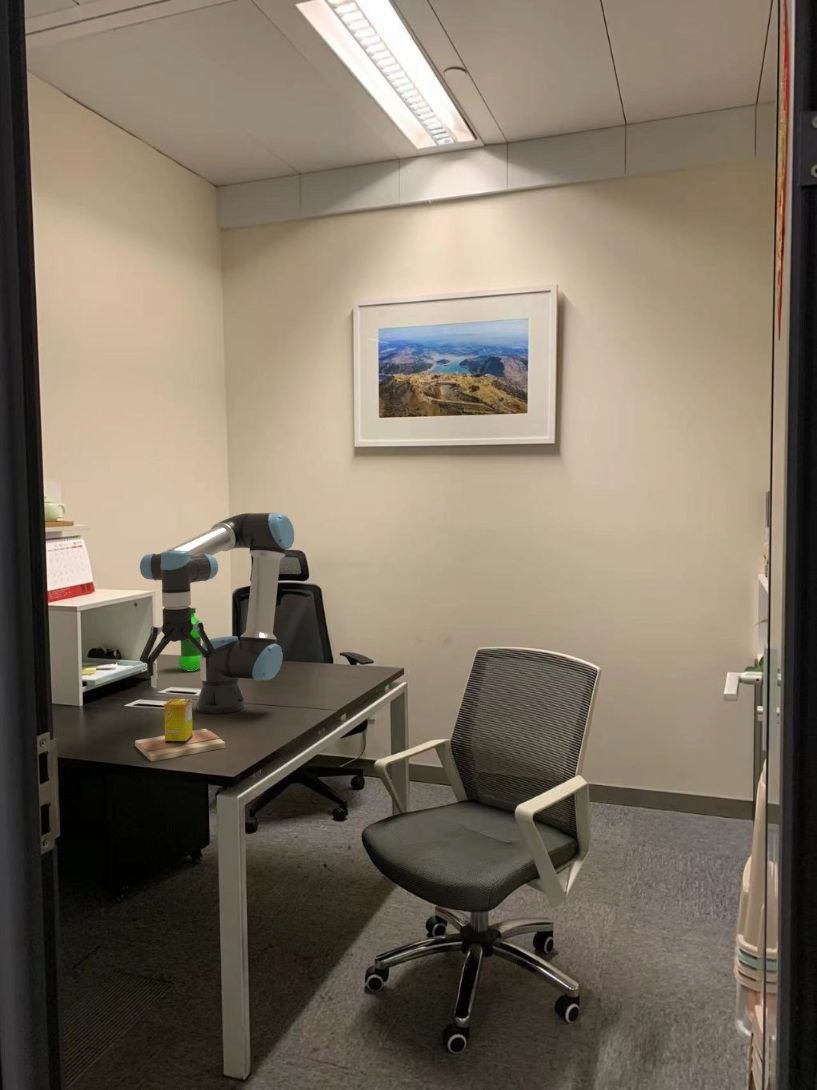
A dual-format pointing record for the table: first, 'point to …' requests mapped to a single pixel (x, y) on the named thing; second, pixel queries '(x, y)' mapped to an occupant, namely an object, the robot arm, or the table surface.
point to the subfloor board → (179, 745)
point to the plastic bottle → (190, 649)
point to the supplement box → (178, 720)
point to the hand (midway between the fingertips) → (179, 683)
